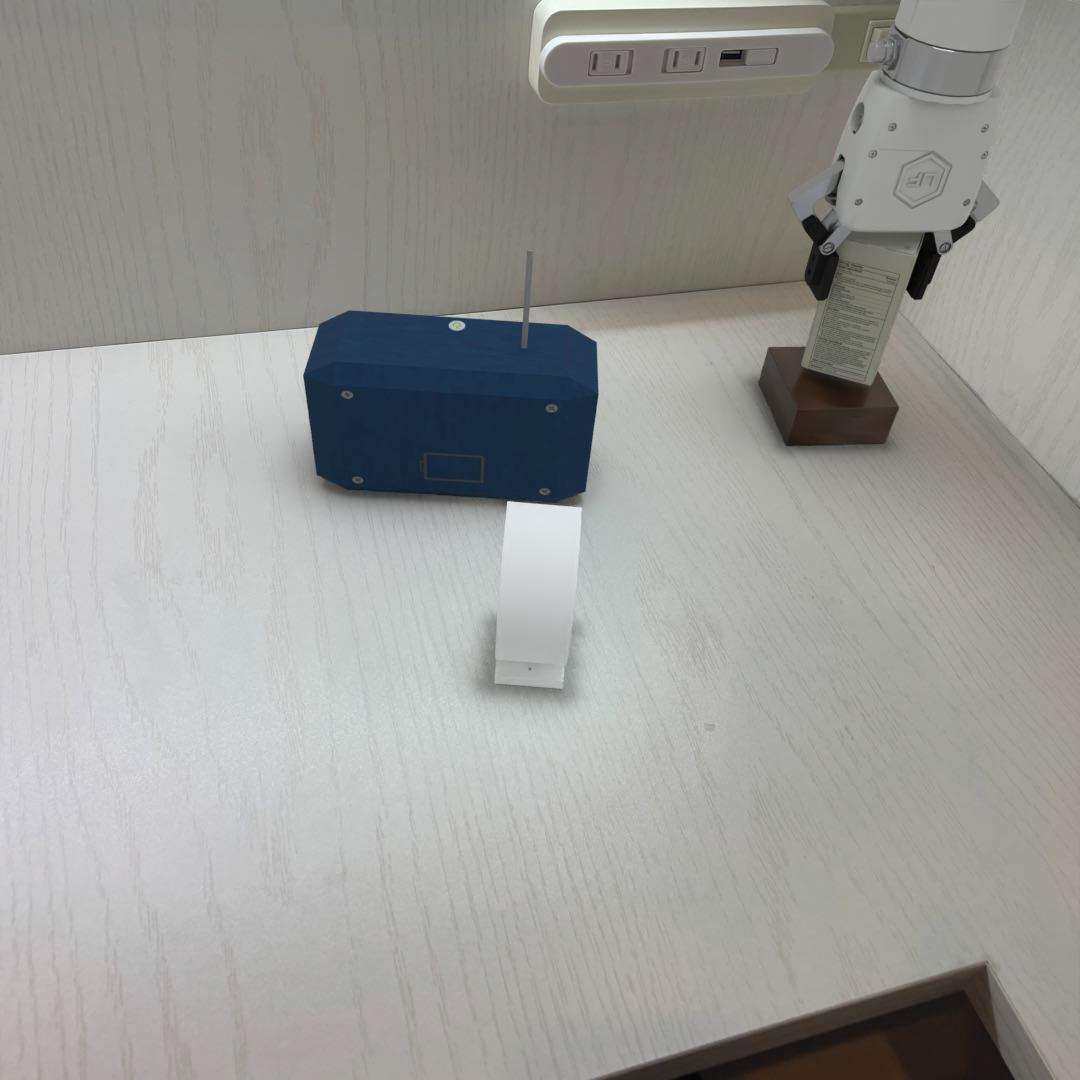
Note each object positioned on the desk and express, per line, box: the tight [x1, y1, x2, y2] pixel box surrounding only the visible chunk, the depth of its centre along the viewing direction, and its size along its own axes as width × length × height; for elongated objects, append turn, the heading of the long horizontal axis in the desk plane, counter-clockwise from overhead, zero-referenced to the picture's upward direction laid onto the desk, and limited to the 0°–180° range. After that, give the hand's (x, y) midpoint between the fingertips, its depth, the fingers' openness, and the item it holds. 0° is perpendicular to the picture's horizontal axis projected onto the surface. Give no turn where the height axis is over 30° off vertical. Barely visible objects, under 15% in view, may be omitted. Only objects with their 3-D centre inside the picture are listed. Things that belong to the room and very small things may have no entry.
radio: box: [302, 249, 599, 503], centre depth 72 cm, size 21×9×20 cm, turn 89°
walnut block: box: [758, 346, 900, 447], centre depth 86 cm, size 9×9×4 cm
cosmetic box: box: [801, 231, 924, 386], centre depth 79 cm, size 6×4×12 cm
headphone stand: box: [493, 500, 583, 690], centre depth 61 cm, size 5×6×12 cm
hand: (863, 289), depth 78 cm, fingers closed on cosmetic box, 7 cm apart
